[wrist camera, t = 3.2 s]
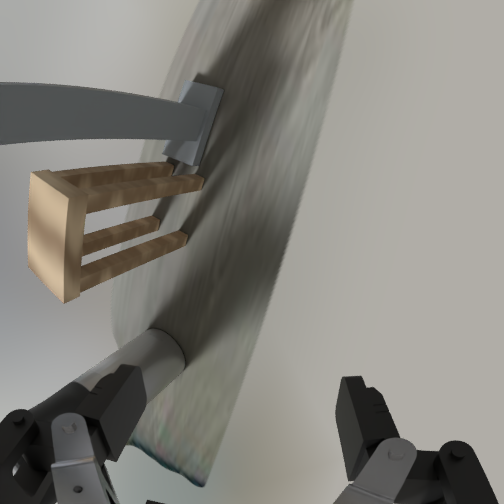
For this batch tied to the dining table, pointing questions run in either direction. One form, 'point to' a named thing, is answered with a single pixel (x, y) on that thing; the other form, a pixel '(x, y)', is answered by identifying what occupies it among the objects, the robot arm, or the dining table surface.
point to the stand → (109, 116)
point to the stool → (77, 244)
